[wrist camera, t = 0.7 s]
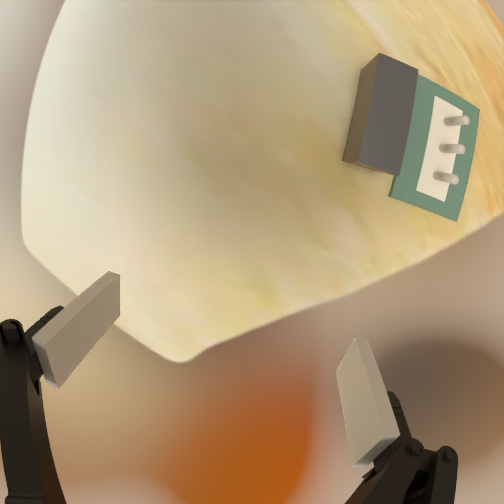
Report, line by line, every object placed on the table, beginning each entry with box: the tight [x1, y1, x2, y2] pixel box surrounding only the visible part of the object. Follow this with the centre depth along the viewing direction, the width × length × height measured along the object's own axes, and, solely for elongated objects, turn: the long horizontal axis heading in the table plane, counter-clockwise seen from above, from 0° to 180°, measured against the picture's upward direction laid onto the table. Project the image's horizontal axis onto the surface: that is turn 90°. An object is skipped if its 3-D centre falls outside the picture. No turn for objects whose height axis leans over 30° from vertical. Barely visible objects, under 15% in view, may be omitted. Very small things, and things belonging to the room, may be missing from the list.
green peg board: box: [389, 75, 480, 222], centre depth 28 cm, size 18×12×6 cm, turn 168°
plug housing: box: [342, 53, 418, 176], centre depth 27 cm, size 13×5×7 cm, turn 168°
